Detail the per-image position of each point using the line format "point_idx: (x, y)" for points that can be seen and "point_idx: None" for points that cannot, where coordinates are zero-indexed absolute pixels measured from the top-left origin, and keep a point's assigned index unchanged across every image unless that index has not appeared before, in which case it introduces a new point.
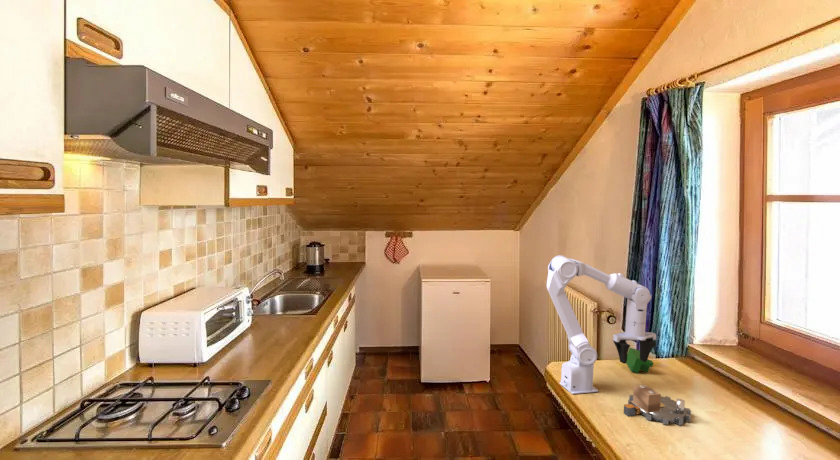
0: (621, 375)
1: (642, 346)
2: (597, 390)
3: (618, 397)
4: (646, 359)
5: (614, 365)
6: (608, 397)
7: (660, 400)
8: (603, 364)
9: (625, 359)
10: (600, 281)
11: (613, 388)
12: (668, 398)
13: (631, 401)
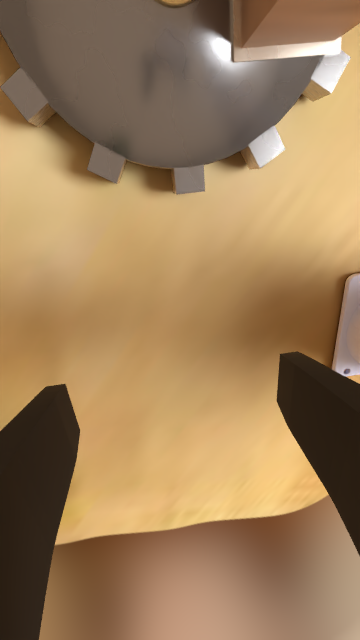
0: (121, 428)
1: (21, 597)
2: (356, 277)
3: (288, 213)
4: (40, 400)
5: (98, 504)
6: (338, 217)
7: (111, 43)
8: (141, 508)
9: (320, 370)
10: None
11: (244, 310)
12: (26, 71)
13: (336, 53)
